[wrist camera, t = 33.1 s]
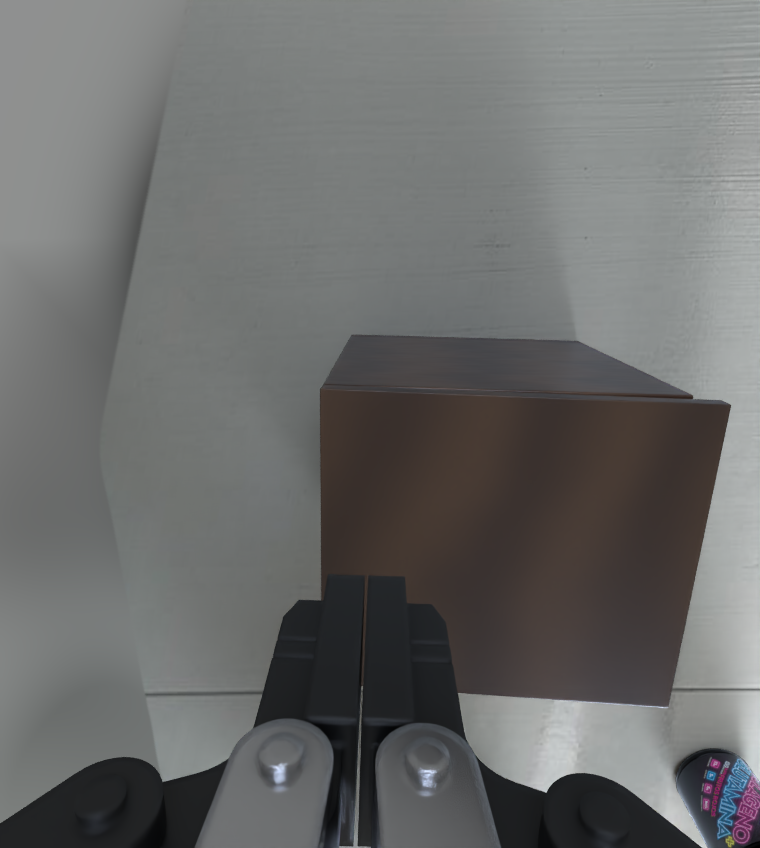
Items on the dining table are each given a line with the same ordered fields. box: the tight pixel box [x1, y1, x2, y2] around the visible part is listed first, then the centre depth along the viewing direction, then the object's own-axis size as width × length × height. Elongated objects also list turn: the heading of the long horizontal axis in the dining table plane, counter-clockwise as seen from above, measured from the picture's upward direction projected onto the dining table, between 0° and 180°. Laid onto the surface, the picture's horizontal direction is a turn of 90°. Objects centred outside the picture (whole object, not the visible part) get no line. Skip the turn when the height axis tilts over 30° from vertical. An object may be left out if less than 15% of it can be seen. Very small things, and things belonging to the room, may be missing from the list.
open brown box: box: [323, 335, 693, 399], centre depth 36 cm, size 17×16×17 cm
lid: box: [320, 385, 731, 708], centre depth 27 cm, size 17×16×1 cm
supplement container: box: [676, 748, 760, 848], centre depth 47 cm, size 7×7×10 cm
